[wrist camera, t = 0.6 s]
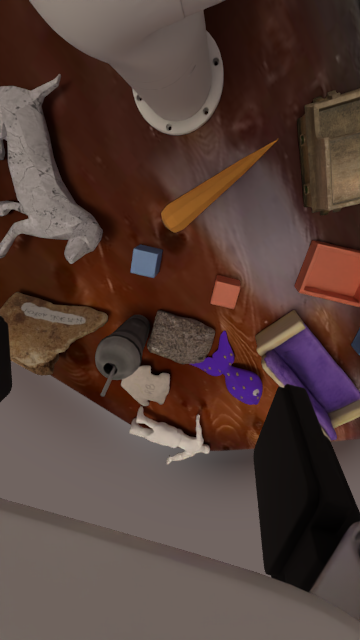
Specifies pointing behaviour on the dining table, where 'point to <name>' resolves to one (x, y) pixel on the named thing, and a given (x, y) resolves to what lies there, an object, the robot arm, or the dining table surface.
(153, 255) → the blue block
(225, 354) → the toy
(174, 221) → the carrot
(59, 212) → the statue
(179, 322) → the stone
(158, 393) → the decorative object
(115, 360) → the beverage cup
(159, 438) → the figurine
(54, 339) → the rock
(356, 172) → the wooden crate
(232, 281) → the red block
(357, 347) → the blue bin
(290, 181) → the dining table surface
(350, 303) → the red bin
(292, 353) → the toy sofa
